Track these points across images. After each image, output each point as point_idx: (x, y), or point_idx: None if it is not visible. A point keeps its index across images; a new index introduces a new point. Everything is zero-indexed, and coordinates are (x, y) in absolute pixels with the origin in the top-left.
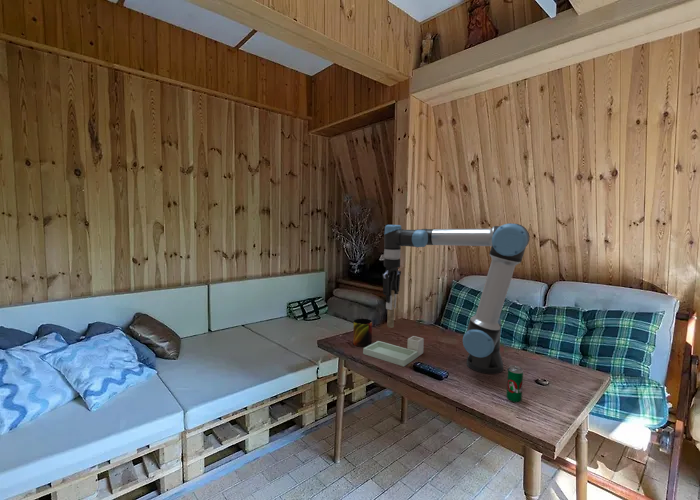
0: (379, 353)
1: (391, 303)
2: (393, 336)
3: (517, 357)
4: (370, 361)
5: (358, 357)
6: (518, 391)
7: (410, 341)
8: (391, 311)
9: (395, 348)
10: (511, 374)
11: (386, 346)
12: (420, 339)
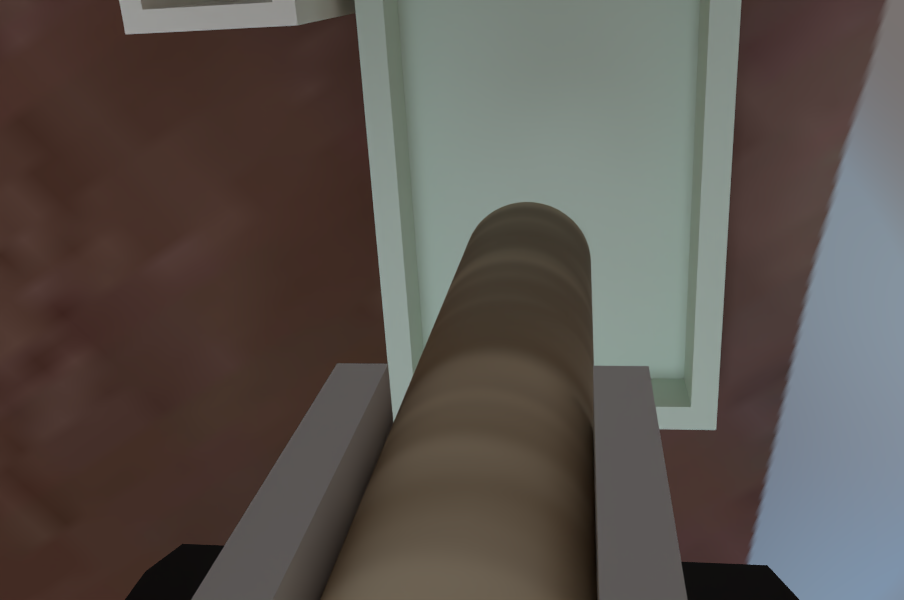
0: (727, 201)
1: (632, 482)
2: (37, 424)
3: None
4: (799, 241)
5: (782, 397)
6: None
7: None
8: (566, 356)
9: (401, 165)
10: None
11: (412, 289)
12: None
